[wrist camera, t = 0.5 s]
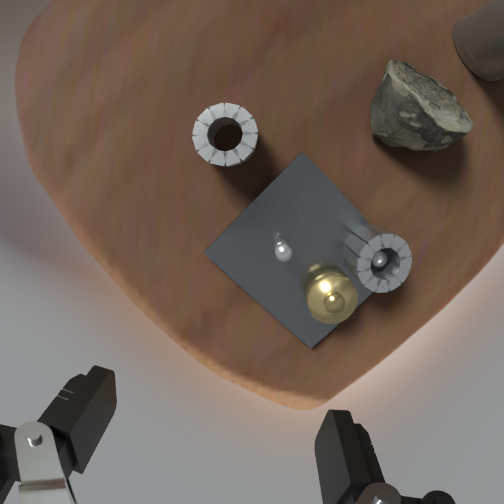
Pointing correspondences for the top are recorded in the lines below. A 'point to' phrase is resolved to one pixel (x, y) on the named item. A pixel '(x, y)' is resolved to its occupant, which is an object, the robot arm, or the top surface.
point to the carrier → (296, 251)
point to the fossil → (416, 111)
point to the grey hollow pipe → (363, 250)
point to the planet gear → (213, 122)
